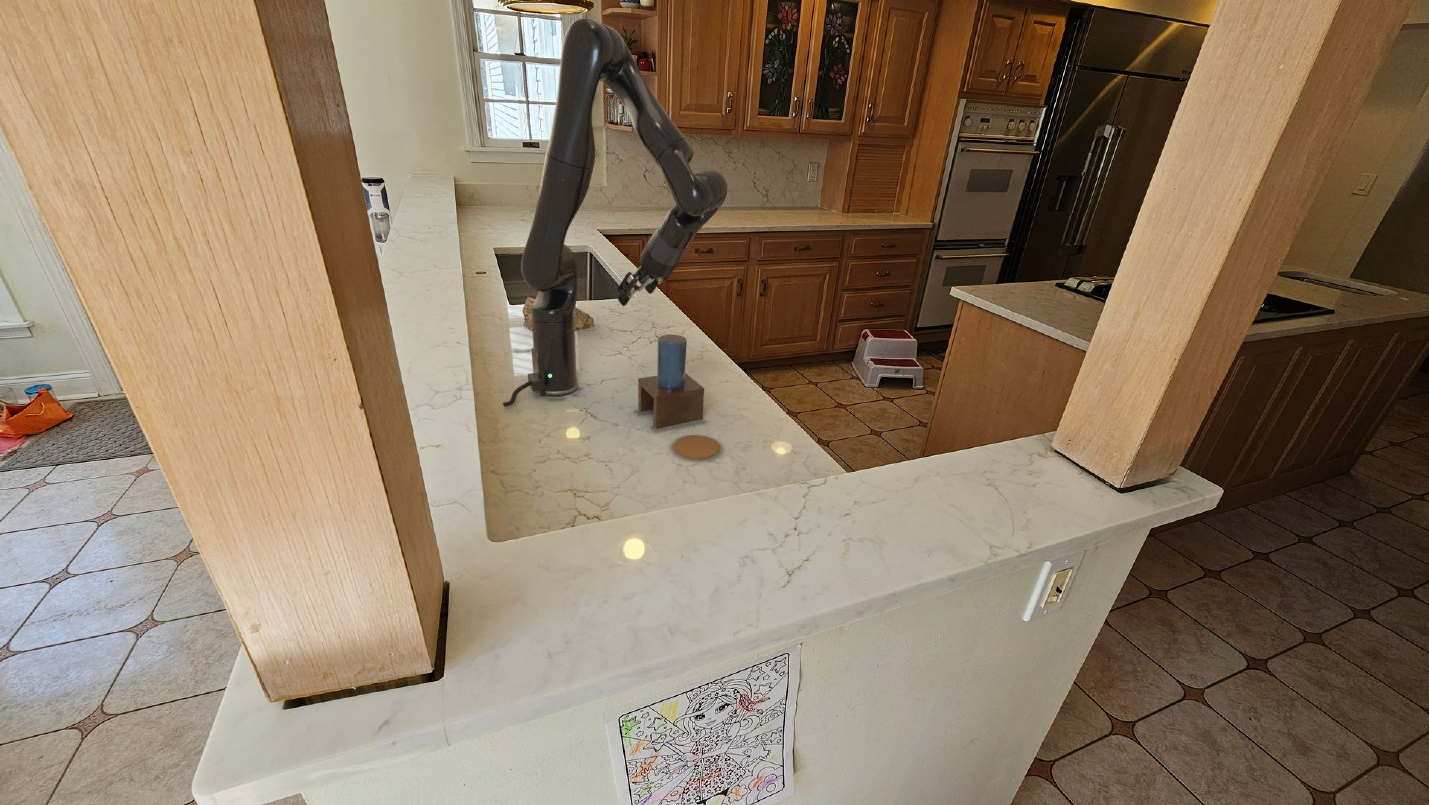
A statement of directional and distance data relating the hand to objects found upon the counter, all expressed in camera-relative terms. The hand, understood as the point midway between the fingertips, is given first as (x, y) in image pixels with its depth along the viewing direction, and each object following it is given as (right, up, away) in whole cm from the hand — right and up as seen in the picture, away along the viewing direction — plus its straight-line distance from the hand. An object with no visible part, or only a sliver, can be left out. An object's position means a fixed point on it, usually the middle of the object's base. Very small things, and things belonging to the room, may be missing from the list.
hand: (634, 296), depth 138 cm
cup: (+9, -20, -7) cm, 23 cm away
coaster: (+14, -33, -16) cm, 40 cm away
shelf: (+8, -27, -4) cm, 29 cm away
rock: (-27, -4, +42) cm, 50 cm away
